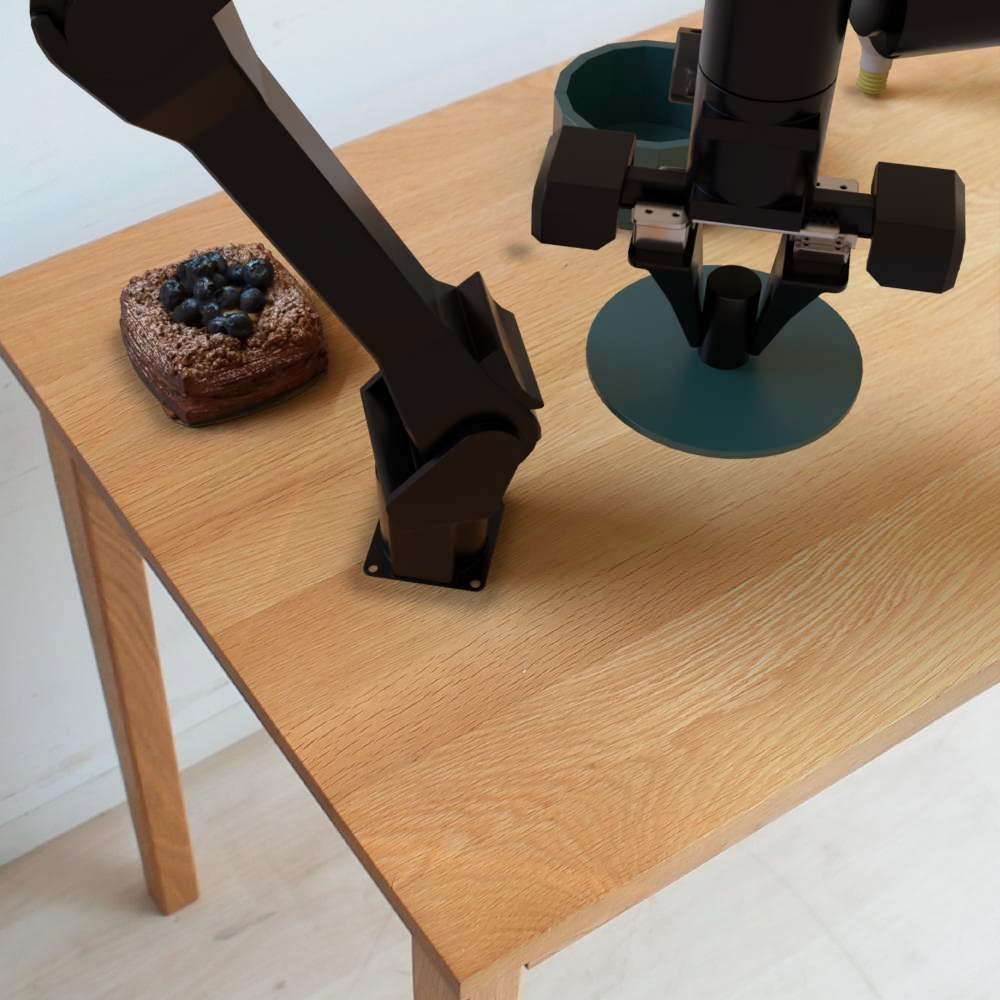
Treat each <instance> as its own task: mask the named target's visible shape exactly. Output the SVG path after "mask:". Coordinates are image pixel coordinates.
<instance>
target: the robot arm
mask: <svg viewBox="0 0 1000 1000" xmlns="http://www.w3.org/2000/svg"><path fill="white" fill-rule="evenodd" d="M28 5H29V8H28V9H29V10H28V12H29V18H30V28H31V30H32V33H33V37H34V40H35V42H36V44H37V46H38V47H39V49H40V50H41V52H42V53H43V55H44V56H45V57H46V59H47V61H49V63H50V64H51V65H52V66H53V67H54V68H56V69H57V70H58V71H59V72H60V73H61V74H62V75H64V77H66V78H67V79H69V80H70V81H71V82H73V83H74V84H75V85H76V86H78V87H79V88H80V89H81V90H83V91H84V92H86V93H87V94H88V95H89V96H90V97H91V98H93V99H95V100H96V101H97V102H98V103H100V104H101V106H103V107H105V108H106V109H107V110H108V111H110V112H111V113H112V114H113V115H115V116H116V117H118V118H119V119H120V120H122V121H123V122H124V123H126V124H127V125H130V126H133V127H136V128H139V129H141V130H143V131H145V132H149V133H151V134H154V135H156V136H159V137H162V138H165V139H168V140H169V141H172V142H175V143H177V144H179V145H180V146H181V147H183V148H184V149H185V150H187V151H188V152H189V153H190V154H191V155H192V156H193V157H194V158H195V159H196V161H197V162H198V163H199V164H200V165H201V167H203V169H204V170H205V171H206V172H207V173H208V174H209V175H210V176H211V177H212V179H213V180H214V181H215V183H217V184H218V186H220V188H221V189H222V190H223V191H224V192H225V193H226V194H227V196H228V197H229V199H231V200H232V201H233V203H234V204H235V205H236V206H237V207H238V208H239V209H240V210H241V212H243V214H244V215H245V216H246V217H247V218H248V219H249V220H250V221H251V222H252V224H253V225H254V226H255V227H256V228H257V229H258V231H259V232H260V233H261V234H262V235H263V236H264V237H265V238H266V239H267V240H268V242H269V243H270V244H271V245H272V246H273V248H275V250H276V251H277V252H278V253H279V254H280V255H281V256H282V257H283V259H284V260H285V261H286V262H287V263H288V265H290V266H291V268H292V269H293V270H294V271H295V272H296V274H298V275H299V277H300V278H301V279H302V280H303V281H304V283H306V285H307V286H308V287H309V288H310V289H311V290H312V291H313V293H314V294H315V295H316V296H317V297H318V298H319V299H320V300H321V301H322V302H323V304H324V305H325V306H326V307H327V308H328V309H329V310H330V312H331V313H332V314H333V315H334V316H335V317H336V319H338V321H339V322H340V323H341V324H342V325H343V327H345V329H347V331H348V332H349V333H350V334H351V335H352V336H353V338H355V340H356V341H357V342H358V343H359V344H360V345H361V346H362V348H363V349H364V350H365V351H366V352H367V353H368V354H369V356H370V357H371V358H372V359H373V360H374V362H375V364H376V365H377V367H378V369H379V370H378V371H377V372H376V373H375V374H374V375H372V376H371V377H370V378H369V379H368V380H367V381H366V382H365V383H364V384H363V385H362V386H360V388H359V393H360V399H361V404H362V408H363V413H364V417H365V422H366V426H367V431H368V436H369V439H370V444H371V448H372V454H373V458H374V459H373V460H374V472H375V473H374V474H375V484H376V485H375V486H376V494H377V505H378V516H379V517H378V521H377V524H376V526H375V528H374V529H375V530H374V532H373V536H372V539H371V542H370V545H369V548H368V551H367V554H366V557H365V560H364V563H363V567H362V571H363V573H364V574H365V575H366V576H367V577H373V578H379V579H385V580H392V581H399V582H404V583H405V582H406V583H414V584H420V585H424V586H425V585H426V586H432V587H433V586H434V587H439V588H446V589H453V590H459V591H466V592H472V593H478V592H481V591H482V590H484V589H485V587H486V583H487V579H488V577H489V576H488V575H489V571H490V567H491V564H492V559H493V555H494V552H495V546H496V543H497V539H498V536H499V532H500V527H501V522H502V520H503V516H504V512H505V502H504V501H503V498H504V495H505V494H506V492H507V490H508V488H509V486H510V484H511V482H512V480H513V478H514V476H515V474H516V472H517V469H518V468H519V466H520V464H522V463H524V462H525V460H526V459H527V458H529V456H530V455H531V454H532V452H534V450H535V449H536V445H537V444H538V442H539V441H541V439H542V436H543V435H542V426H541V424H540V420H539V418H538V414H537V411H536V410H540V409H543V408H544V407H545V402H544V399H543V396H542V393H541V389H540V387H539V385H538V381H537V378H536V375H535V372H534V369H533V366H532V364H531V360H530V358H529V354H528V351H527V349H526V346H525V342H524V340H523V336H522V333H521V331H520V327H519V324H518V321H517V318H516V315H515V313H514V312H512V311H510V310H508V309H506V308H504V307H502V306H501V305H500V304H499V303H498V302H497V301H496V300H495V299H494V298H493V296H492V295H491V293H490V291H489V289H488V286H487V284H486V282H485V279H484V277H483V275H482V274H481V272H480V271H479V270H478V271H475V272H474V273H472V274H471V275H469V276H468V277H467V278H466V279H464V280H463V281H462V282H460V283H459V284H458V285H453V284H450V283H447V282H444V281H440V280H438V279H436V278H435V277H433V276H432V275H431V274H430V273H429V272H428V271H427V270H426V269H425V267H424V266H423V265H422V264H421V262H420V261H419V259H418V258H416V256H415V254H413V252H412V250H410V248H409V247H408V246H407V244H405V242H404V241H403V239H402V238H401V237H400V235H399V234H398V233H397V232H396V231H395V230H394V228H393V227H392V226H391V224H390V223H389V222H388V220H387V219H386V218H385V216H384V215H383V214H382V212H381V211H380V210H379V209H378V208H377V206H376V205H375V204H374V203H373V201H372V200H371V198H370V197H369V196H368V195H367V194H366V192H365V191H364V189H363V188H362V187H361V186H360V185H359V183H358V182H357V180H356V179H355V177H353V176H352V174H351V173H350V172H349V171H348V169H347V168H346V167H345V165H344V164H343V163H342V162H341V160H340V159H339V158H338V156H337V155H336V154H335V153H334V151H333V150H332V149H331V148H330V146H329V145H328V144H327V142H325V140H324V139H323V137H322V136H321V135H320V133H319V132H318V131H317V130H316V128H315V127H314V126H313V124H312V123H311V122H310V121H309V119H308V118H307V117H306V116H305V114H304V113H303V112H302V110H301V109H300V108H299V107H298V105H297V104H296V102H295V101H294V100H293V99H292V98H291V96H290V95H289V94H288V92H286V90H285V89H284V87H283V86H282V85H281V84H280V83H279V81H278V79H276V77H275V76H274V75H273V74H272V72H271V71H270V70H269V68H268V67H267V66H266V65H265V63H264V62H263V61H262V60H261V58H260V57H259V55H258V53H257V52H256V50H255V47H254V46H253V44H252V42H251V40H250V38H249V36H248V33H247V31H246V29H245V27H244V26H245V25H244V24H243V21H242V19H241V17H240V15H239V12H238V10H237V8H236V5H235V2H234V1H233V0H29V2H28ZM848 23H849V24H850V26H851V27H852V30H853V32H855V34H856V33H857V34H858V35H859V36H862V37H869V39H870V41H871V44H872V46H873V47H874V49H875V50H876V52H877V53H878V54H880V55H881V56H882V57H884V58H886V59H891V60H893V61H894V60H900V59H907V58H908V59H909V58H916V57H925V56H931V55H940V54H947V53H956V52H964V51H970V50H979V49H987V48H996V47H1000V0H704V8H703V15H702V24H701V25H702V26H701V28H696V27H687V26H679V28H678V30H677V34H676V39H675V43H676V45H675V52H674V59H673V65H672V73H671V81H670V89H669V100H670V102H672V103H681V104H690V105H693V114H692V123H691V132H690V141H689V150H688V159H687V168H686V169H685V168H676V167H668V166H662V167H660V168H659V169H655V168H647V167H638V166H633V164H634V160H635V152H636V140H637V139H636V135H635V133H628V132H620V131H611V130H602V129H593V128H585V127H576V126H567V125H562V126H561V127H560V128H559V129H558V130H557V131H556V132H555V133H554V134H553V133H552V134H551V135H550V136H549V138H548V142H547V145H546V148H545V151H544V153H543V157H542V159H541V164H540V167H539V170H538V173H537V177H536V180H535V183H534V186H533V192H532V200H531V207H530V208H531V209H530V210H531V212H530V213H531V215H530V219H531V220H530V222H531V223H530V235H531V236H532V237H533V238H534V239H535V240H537V241H538V242H539V243H540V244H541V245H542V244H543V245H550V246H557V247H566V248H574V249H580V250H581V249H583V250H589V251H590V250H591V251H596V252H597V251H599V250H600V249H602V248H604V247H605V246H606V245H609V244H610V243H611V242H613V241H615V240H616V239H617V233H618V229H619V228H618V214H619V210H620V209H628V210H632V214H631V221H632V222H633V224H634V227H633V230H632V231H631V235H630V241H629V245H628V249H627V262H628V264H629V265H630V266H631V267H633V268H635V269H639V270H645V271H647V272H648V273H649V275H651V276H652V277H653V279H654V280H655V281H656V283H657V284H658V286H659V287H660V289H661V290H662V292H663V293H664V295H665V296H666V298H667V299H668V301H669V302H670V304H671V306H672V308H673V310H674V312H675V315H676V317H677V319H678V321H679V324H680V326H681V328H682V330H683V332H684V335H685V337H686V339H687V341H688V344H689V346H690V347H692V348H698V346H699V338H700V331H701V321H702V311H703V303H704V290H703V265H704V225H707V226H708V225H709V226H717V227H725V228H734V229H742V230H748V231H749V230H751V231H759V232H764V233H765V232H766V233H775V234H781V237H780V241H779V244H778V247H777V248H778V249H777V252H776V254H775V257H774V260H773V263H772V266H771V270H770V272H769V273H770V275H769V278H768V281H767V284H766V287H765V291H764V294H763V297H762V300H761V303H760V306H759V309H758V313H757V319H756V324H755V329H754V334H753V340H752V346H751V351H750V355H752V356H759V355H760V353H761V352H762V351H763V350H764V349H765V348H766V347H767V345H768V344H769V343H770V342H771V341H772V340H773V339H774V337H775V336H776V335H777V334H778V333H779V332H780V331H781V329H782V328H783V327H784V326H785V325H786V324H787V323H788V322H789V321H790V320H791V318H793V317H794V316H795V315H796V314H797V313H799V312H800V311H801V310H802V309H803V308H805V307H806V306H807V305H808V304H810V303H811V302H812V301H813V300H815V299H816V298H817V297H820V296H821V295H823V294H841V293H843V292H844V291H846V290H847V287H848V283H849V281H850V280H849V278H850V268H851V267H850V265H851V254H852V253H851V251H852V250H855V249H856V245H857V242H858V239H859V238H860V239H867V240H870V245H869V249H868V254H867V258H866V261H865V262H866V263H865V264H866V265H865V271H866V272H867V273H868V275H870V277H871V278H872V279H873V280H874V281H875V282H876V283H877V284H878V285H879V286H880V287H882V288H888V289H889V288H890V289H897V290H905V291H906V290H907V291H913V292H921V293H929V294H937V295H942V294H944V293H946V292H948V291H950V290H952V289H954V288H955V286H956V282H957V278H958V275H959V272H960V268H961V265H962V262H963V258H964V253H965V246H966V240H967V232H966V231H967V230H966V229H967V227H966V224H967V223H966V220H967V219H966V184H965V182H963V180H962V178H961V177H960V175H959V174H958V172H957V170H956V169H949V168H942V167H941V168H940V167H932V166H923V165H915V164H905V163H897V162H888V161H880V160H879V161H877V163H876V164H875V167H874V171H873V175H872V179H871V184H870V193H867V192H866V193H865V192H860V191H859V189H860V183H859V181H858V180H857V179H853V178H845V177H838V176H837V177H836V176H828V175H819V173H820V168H821V163H822V157H823V152H824V149H825V148H824V147H825V144H826V143H825V142H826V137H827V131H828V127H829V122H830V117H831V112H832V106H833V101H834V98H835V97H834V96H835V92H836V85H837V81H838V76H839V70H840V64H841V60H842V54H843V49H844V44H845V38H846V34H847V28H848ZM857 34H856V35H857ZM370 566H375V567H376V570H375V571H370V570H369V567H370ZM474 581H475V582H476V581H477V582H479V586H477V587H474V586H472V582H474Z"/></svg>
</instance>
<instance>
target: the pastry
mask: <svg viewBox="0 0 1000 1000" xmlns="http://www.w3.org/2000/svg"><path fill="white" fill-rule="evenodd" d="M128 281H129V284H126V285H125V286H124V287H123V288H122V289H121V291H120V296H119V304H120V318H119V320H118V323H119V327H120V332H121V338H122V339H121V340H122V342H123V345H124V347H125V350H126V353H127V357H128V359H129V362H130V363H131V365H132V367H133V369H134V371H135V372H136V375H137V376H138V378H139V379H140V381H141V382H142V383H143V385H144V386H145V387H146V388H147V389H148V391H149V392H150V393H151V395H153V396H154V398H155V399H156V400H157V401H158V403H159V404H160V406H161V408H162V409H163V411H164V413H165V415H166V417H167V418H168V419H171V420H172V421H174V422H176V423H179V424H180V425H183V426H186V427H202V426H206V425H212V424H216V423H222V422H225V421H229V420H234V419H238V418H241V417H245V416H249V415H250V414H254V413H256V412H259V411H262V410H265V409H267V408H268V409H269V408H270V407H273V406H276V405H278V404H281V403H283V402H285V401H288V400H291V399H292V398H294V397H296V396H298V395H299V394H301V393H302V392H304V391H305V390H307V389H309V388H310V387H312V385H314V384H315V383H316V382H318V381H319V380H320V379H321V378H323V377H324V376H325V375H327V373H328V370H329V365H330V363H331V360H330V359H329V356H328V355H329V354H328V350H327V346H328V342H327V340H326V337H325V334H324V327H323V322H322V317H321V316H320V313H319V311H318V310H317V308H316V305H315V304H314V302H313V301H312V299H311V297H310V295H309V294H308V293H307V292H306V290H305V289H304V287H303V286H302V285H301V284H300V282H299V281H298V280H297V279H296V278H295V276H294V275H292V272H290V271H289V269H288V268H287V267H286V266H284V265H283V263H282V262H281V261H279V260H278V259H277V258H276V257H275V256H274V255H273V253H272V250H271V249H267V248H266V247H265V245H264V243H262V242H250V243H235V244H234V243H233V242H230V243H227V244H226V245H225V244H221V245H220V246H218V245H214V246H213V247H211V248H210V247H207V248H205V249H203V250H201V251H199V250H197V249H195V248H193V249H191V251H190V252H189V254H188V257H187V258H183V259H182V260H180V261H176V262H171V263H170V264H168V265H163V267H156V268H152V269H146V270H145V271H144V272H143V275H142V276H138V275H134V276H132V277H130V279H129V280H128Z"/></svg>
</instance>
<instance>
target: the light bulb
mask: <svg viewBox="0 0 1000 1000" xmlns="http://www.w3.org/2000/svg"><path fill="white" fill-rule="evenodd" d="M855 34H856V36H857V38H858V39H857V40H858V41H859V44H860V47H861V55H860V59H859V71H858V78H857V82H856V87H857V89H858V90H859V91H861V92H862V93H863V94H866V95H868V96H872V95H878V94H881V93H883V92H884V91H885V90H886V89H887V82H888V78H889V74H890V70H891V69H892V67H893V61H894V59H893V60H891V59H886V58H884V57H882V56H881V55H880V54H878V53H877V52H876V50H875V49H874V47H873V46H872V44H871V41H870V39H869V37H862V36H859V35H858V34H857V33H856V32H855Z"/></svg>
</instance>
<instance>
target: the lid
mask: <svg viewBox="0 0 1000 1000" xmlns="http://www.w3.org/2000/svg"><path fill="white" fill-rule="evenodd" d="M769 275H770V272H766V271H761V270H758V269H753V268H749V267H747V266H744V265H739V264H724V265H723V264H703V290H704V303H703V311H702V321H701V331H700V338H699V346H698V348H692V347H690V346H689V344H688V341H687V339H686V337H685V335H684V332H683V330H682V328H681V326H680V324H679V321H678V319H677V317H676V315H675V312H674V310H673V308H672V306H671V304H670V302H669V301H668V299H667V298H666V296H665V295H664V293H663V292H662V290H661V289H660V287H659V286H658V284H657V283H656V281H655V280H654V279H653V277H652V276H651V274H649V275H646V276H645V277H642V278H639V279H638V280H635V281H633V282H632V283H630V284H628V285H626V286H625V287H623V288H622V289H620V290H619V291H618V292H615V294H614V295H612V296H611V297H610V298H609V299H608V300H607V301H606V302H605V303H604V305H603V306H602V307H601V308H600V309H599V310H598V312H597V313H596V315H595V317H594V318H593V320H592V322H591V324H590V327H589V331H588V332H587V335H586V337H587V338H586V344H585V364H586V370H587V375H588V378H589V380H590V383H591V384H592V387H593V390H594V391H595V392H596V395H597V396H598V397H599V399H600V400H601V403H603V405H605V407H606V408H607V409H608V410H609V412H610V413H612V415H614V416H615V417H616V418H617V419H618V420H620V422H622V423H623V424H624V425H626V426H627V427H629V428H630V429H632V430H633V431H634V432H636V433H638V435H641V436H643V437H645V438H646V439H648V440H649V441H652V442H654V443H657V444H660V445H662V446H665V447H667V448H669V449H672V450H675V451H678V452H682V453H686V454H689V455H694V456H700V457H704V458H710V459H711V458H713V459H723V460H750V459H751V460H752V459H760V458H761V459H763V458H768V457H774V456H778V455H784V454H786V453H789V452H790V453H791V452H793V451H796V450H800V449H802V448H803V447H804V448H805V447H806V446H808V445H811V444H812V443H815V442H816V441H819V440H820V439H821V438H823V437H824V436H826V435H828V434H829V433H830V432H831V431H833V430H834V429H835V428H836V427H837V426H839V425H840V423H841V422H842V421H843V420H844V419H845V418H846V417H847V416H848V415H849V413H850V411H851V410H852V408H853V406H854V405H855V403H856V401H857V398H858V396H859V393H860V390H861V387H862V381H863V376H864V375H863V374H864V362H863V356H862V351H861V347H860V345H859V343H858V340H857V338H856V335H855V334H854V332H853V330H852V329H851V328H850V326H849V324H848V323H847V322H846V320H845V319H844V318H843V316H842V315H841V314H839V312H838V311H837V310H836V309H835V308H834V307H832V305H830V304H829V303H828V302H827V301H826V300H824V299H822V298H821V297H820V296H818V297H817V298H816V299H815V300H813V301H812V302H811V303H810V304H808V305H807V306H806V307H805V308H803V309H802V310H801V311H800V312H799V313H797V314H796V315H795V316H794V317H793V318H791V320H790V321H789V322H788V323H787V324H786V325H785V326H784V327H783V328H782V329H781V331H780V332H779V333H778V334H777V335H776V336H775V337H774V339H773V340H772V341H771V342H770V343H769V344H768V345H767V347H766V348H765V349H764V350H763V351H762V352H761V353H760V355H759V356H752V355H750V351H751V346H752V340H753V334H754V329H755V324H756V319H757V313H758V309H759V306H760V303H761V300H762V297H763V294H764V291H765V287H766V284H767V281H768V278H769Z"/></svg>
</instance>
